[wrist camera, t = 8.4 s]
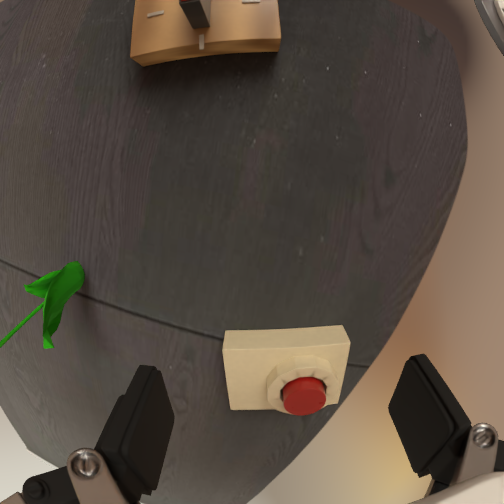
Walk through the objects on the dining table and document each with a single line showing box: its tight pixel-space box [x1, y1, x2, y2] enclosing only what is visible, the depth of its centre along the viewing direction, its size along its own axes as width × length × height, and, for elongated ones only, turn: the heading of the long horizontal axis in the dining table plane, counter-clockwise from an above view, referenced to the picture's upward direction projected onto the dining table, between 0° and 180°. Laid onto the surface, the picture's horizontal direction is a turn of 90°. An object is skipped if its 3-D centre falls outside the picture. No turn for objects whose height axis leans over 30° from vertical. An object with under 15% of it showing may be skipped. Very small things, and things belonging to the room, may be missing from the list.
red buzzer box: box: [222, 325, 350, 414], centre depth 27 cm, size 12×9×5 cm
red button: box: [283, 377, 326, 415], centre depth 24 cm, size 4×4×2 cm
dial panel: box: [130, 0, 281, 67], centre depth 17 cm, size 12×9×3 cm
